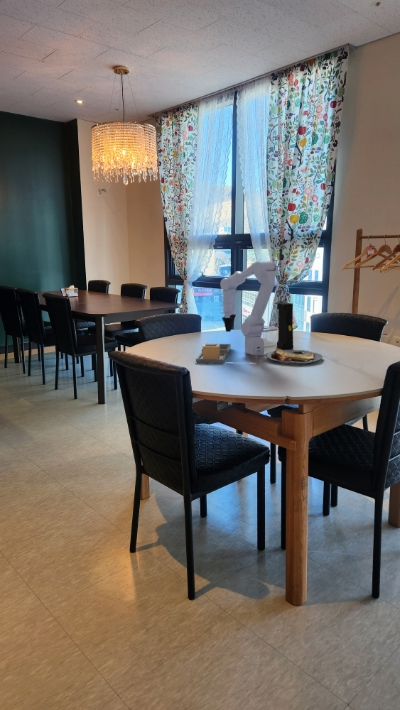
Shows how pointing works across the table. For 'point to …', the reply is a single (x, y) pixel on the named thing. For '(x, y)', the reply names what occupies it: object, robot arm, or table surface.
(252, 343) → the robot arm
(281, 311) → the portable radio
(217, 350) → the module
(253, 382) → the table surface
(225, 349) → the case
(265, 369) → the table surface
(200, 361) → the shallow grey tray
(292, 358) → the food plate
